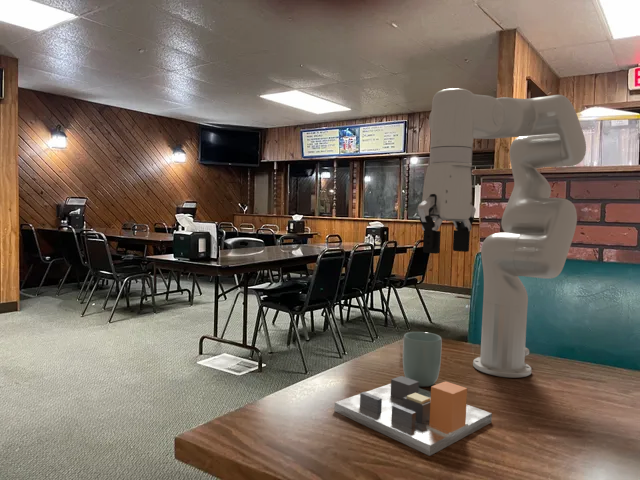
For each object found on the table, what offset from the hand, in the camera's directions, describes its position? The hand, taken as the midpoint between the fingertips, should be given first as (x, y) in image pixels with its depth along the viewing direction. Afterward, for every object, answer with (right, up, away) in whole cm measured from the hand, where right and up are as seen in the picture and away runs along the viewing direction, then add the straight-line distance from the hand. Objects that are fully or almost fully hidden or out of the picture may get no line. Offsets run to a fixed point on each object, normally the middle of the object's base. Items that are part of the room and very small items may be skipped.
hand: (446, 252), depth 89 cm
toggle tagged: (-7, -27, -10) cm, 30 cm away
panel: (-8, -29, -6) cm, 30 cm away
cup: (-3, -28, +11) cm, 30 cm away
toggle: (-8, -27, -1) cm, 28 cm away
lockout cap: (-3, -27, -13) cm, 30 cm away
